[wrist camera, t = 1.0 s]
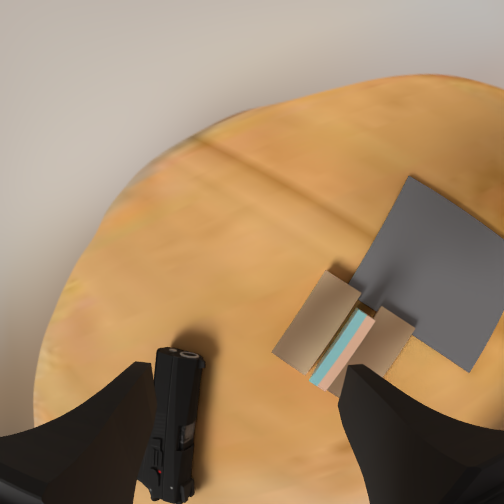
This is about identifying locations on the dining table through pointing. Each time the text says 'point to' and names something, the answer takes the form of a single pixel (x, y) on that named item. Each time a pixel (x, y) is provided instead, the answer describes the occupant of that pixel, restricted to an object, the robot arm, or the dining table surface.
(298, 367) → the tile rack
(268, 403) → the dining table surface
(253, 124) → the dining table surface
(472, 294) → the mat
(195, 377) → the handgun
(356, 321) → the tile
